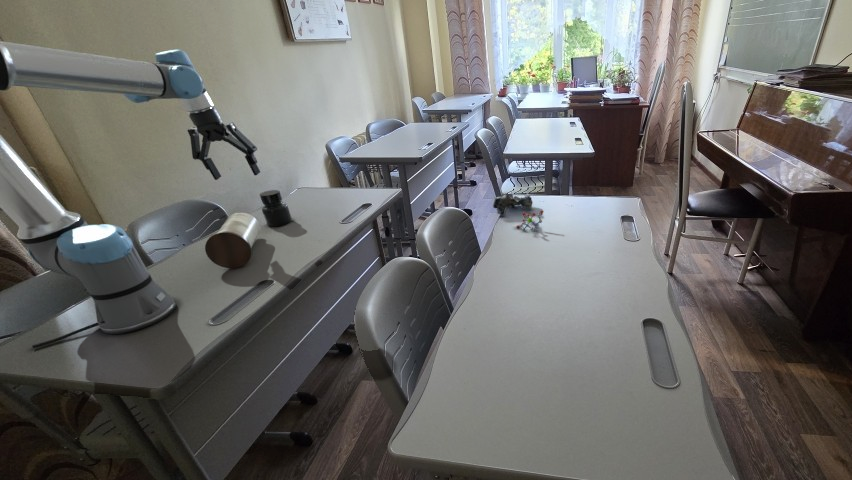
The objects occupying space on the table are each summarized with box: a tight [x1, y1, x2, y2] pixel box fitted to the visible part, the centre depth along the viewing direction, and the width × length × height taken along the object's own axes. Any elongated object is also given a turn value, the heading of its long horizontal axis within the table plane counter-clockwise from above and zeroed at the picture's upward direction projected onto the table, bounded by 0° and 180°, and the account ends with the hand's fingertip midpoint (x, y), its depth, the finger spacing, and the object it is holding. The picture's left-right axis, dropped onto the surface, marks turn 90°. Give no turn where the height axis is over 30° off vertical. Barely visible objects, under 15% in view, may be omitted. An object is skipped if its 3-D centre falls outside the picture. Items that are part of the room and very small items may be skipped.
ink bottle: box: [259, 189, 293, 227], centre depth 153 cm, size 10×9×12 cm
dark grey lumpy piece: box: [492, 192, 533, 218], centre depth 153 cm, size 12×11×15 cm
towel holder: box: [204, 212, 261, 269], centre depth 132 cm, size 12×29×12 cm, turn 19°
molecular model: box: [515, 209, 544, 232], centre depth 137 cm, size 7×8×7 cm
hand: (237, 176), depth 133 cm, fingers open, 13 cm apart
